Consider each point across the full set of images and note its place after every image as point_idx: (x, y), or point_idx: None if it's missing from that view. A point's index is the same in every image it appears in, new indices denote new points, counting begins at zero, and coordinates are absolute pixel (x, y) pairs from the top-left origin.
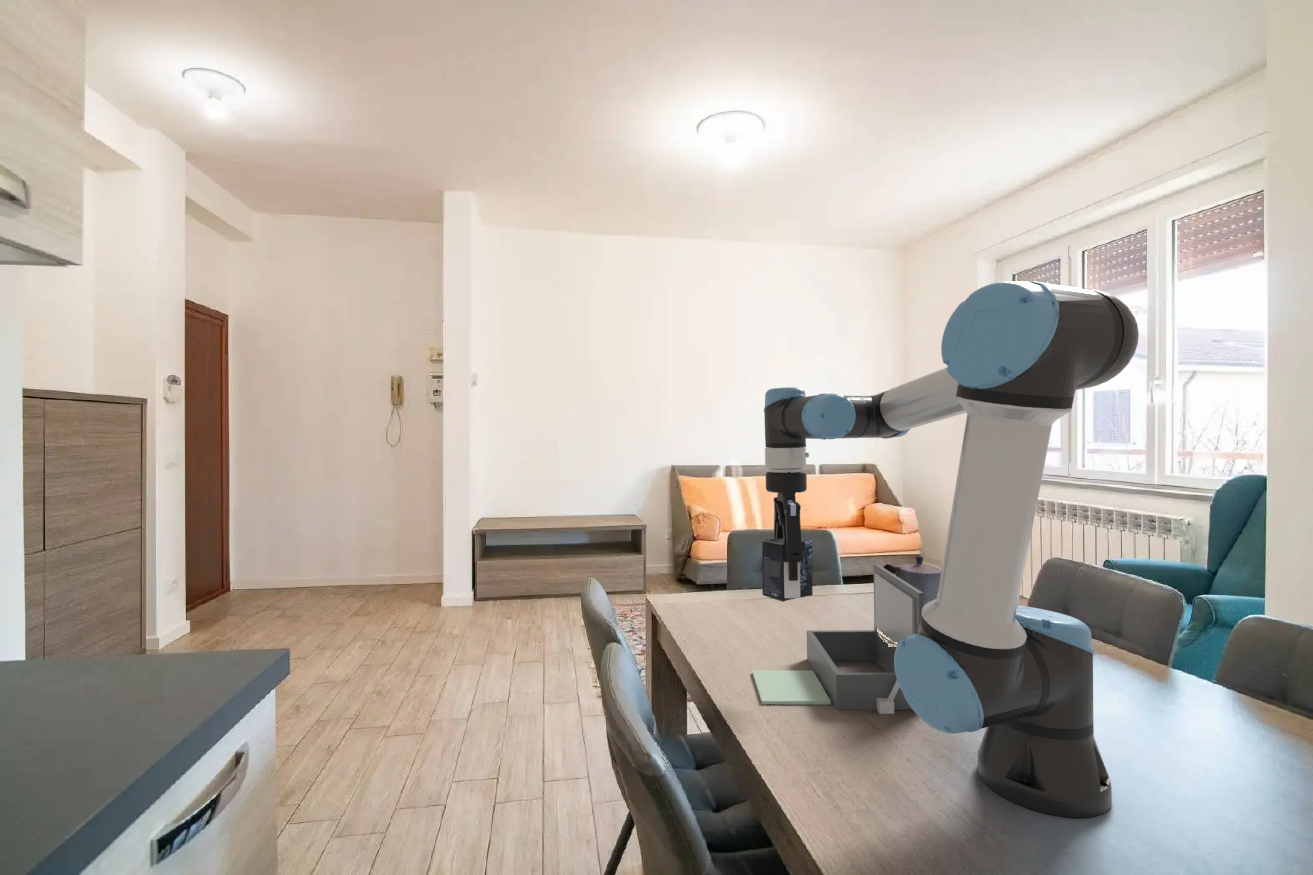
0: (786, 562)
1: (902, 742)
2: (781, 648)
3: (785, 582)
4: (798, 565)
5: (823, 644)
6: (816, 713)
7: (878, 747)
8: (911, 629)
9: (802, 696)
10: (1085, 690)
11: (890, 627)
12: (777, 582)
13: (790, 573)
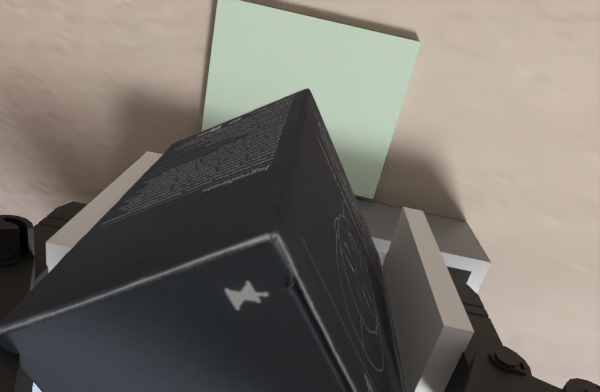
0: (46, 251)
1: (36, 207)
2: (566, 191)
3: (115, 184)
4: None
5: (451, 276)
6: (160, 108)
7: (16, 158)
8: None
9: (230, 109)
10: None
11: None
12: (180, 157)
13: (42, 225)
